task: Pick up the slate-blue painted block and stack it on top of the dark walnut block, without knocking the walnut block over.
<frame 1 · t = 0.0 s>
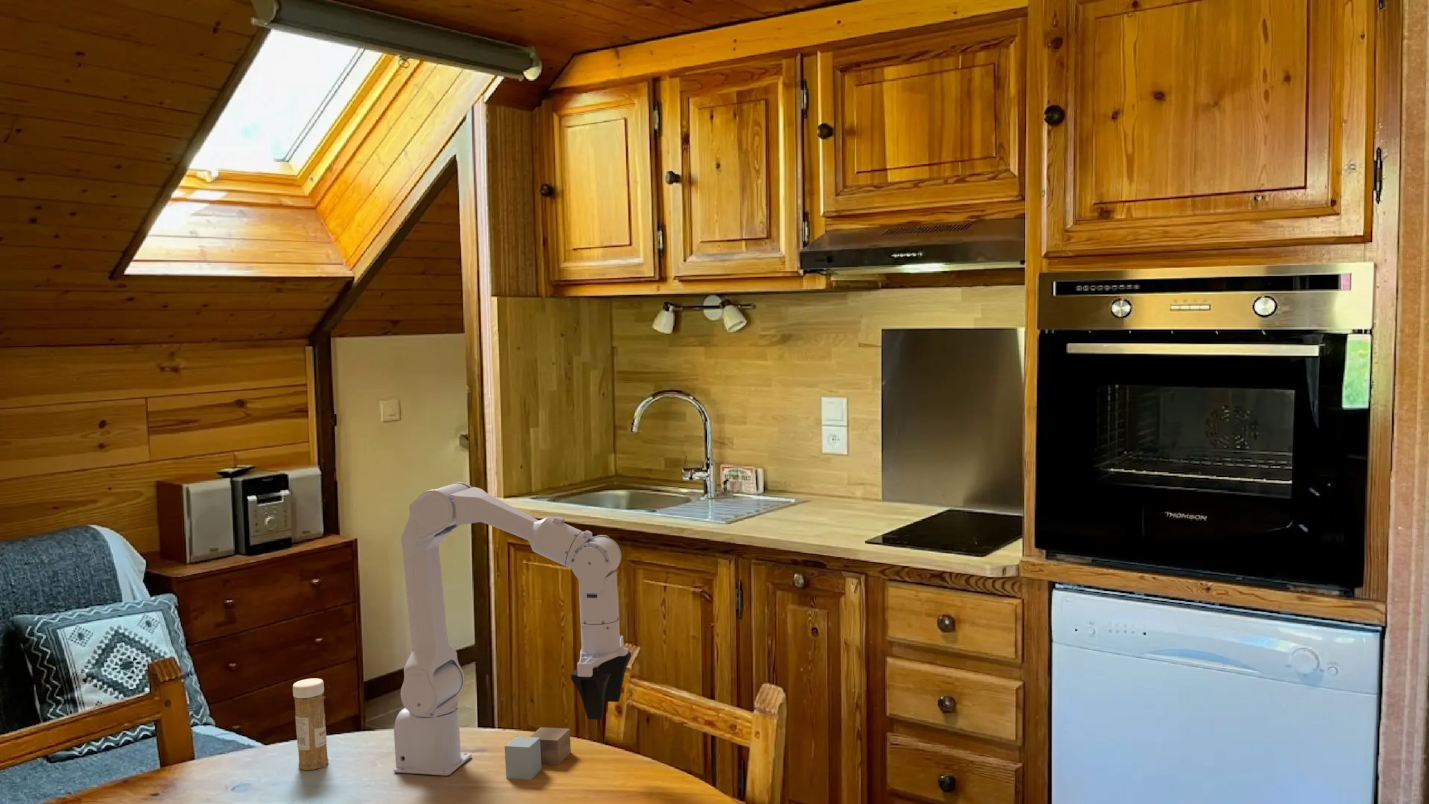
hand: (603, 709, 161), 10 cm above the table, tool pointing down, fingers open, 7 cm apart
walnut block: (550, 758, 170), on the table
sprinkles bottle: (313, 766, 171), on the table
slate block: (524, 774, 164), on the table
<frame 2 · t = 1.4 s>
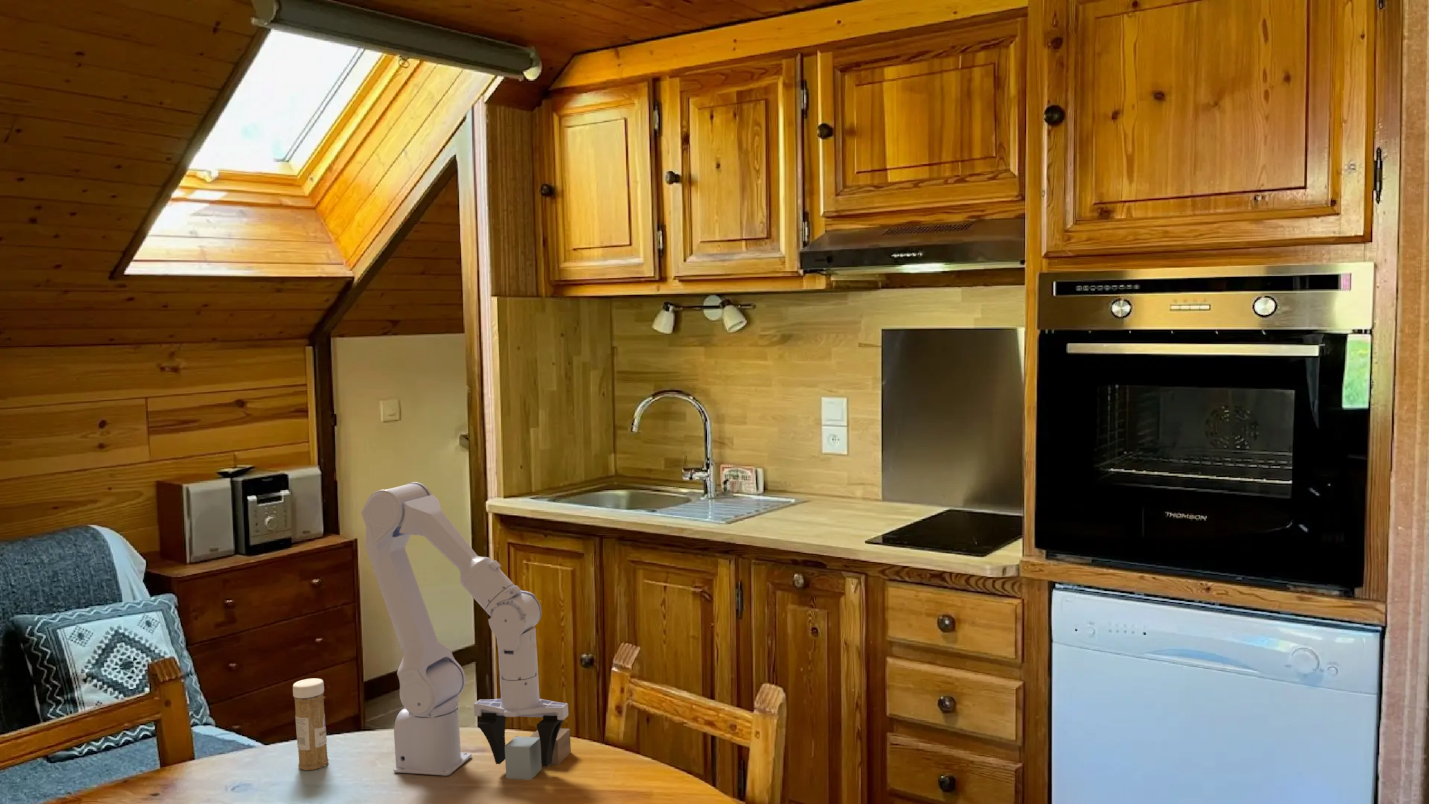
hand: (523, 763, 164), 2 cm above the table, tool pointing down, fingers open, 7 cm apart
nothing on the table moved.
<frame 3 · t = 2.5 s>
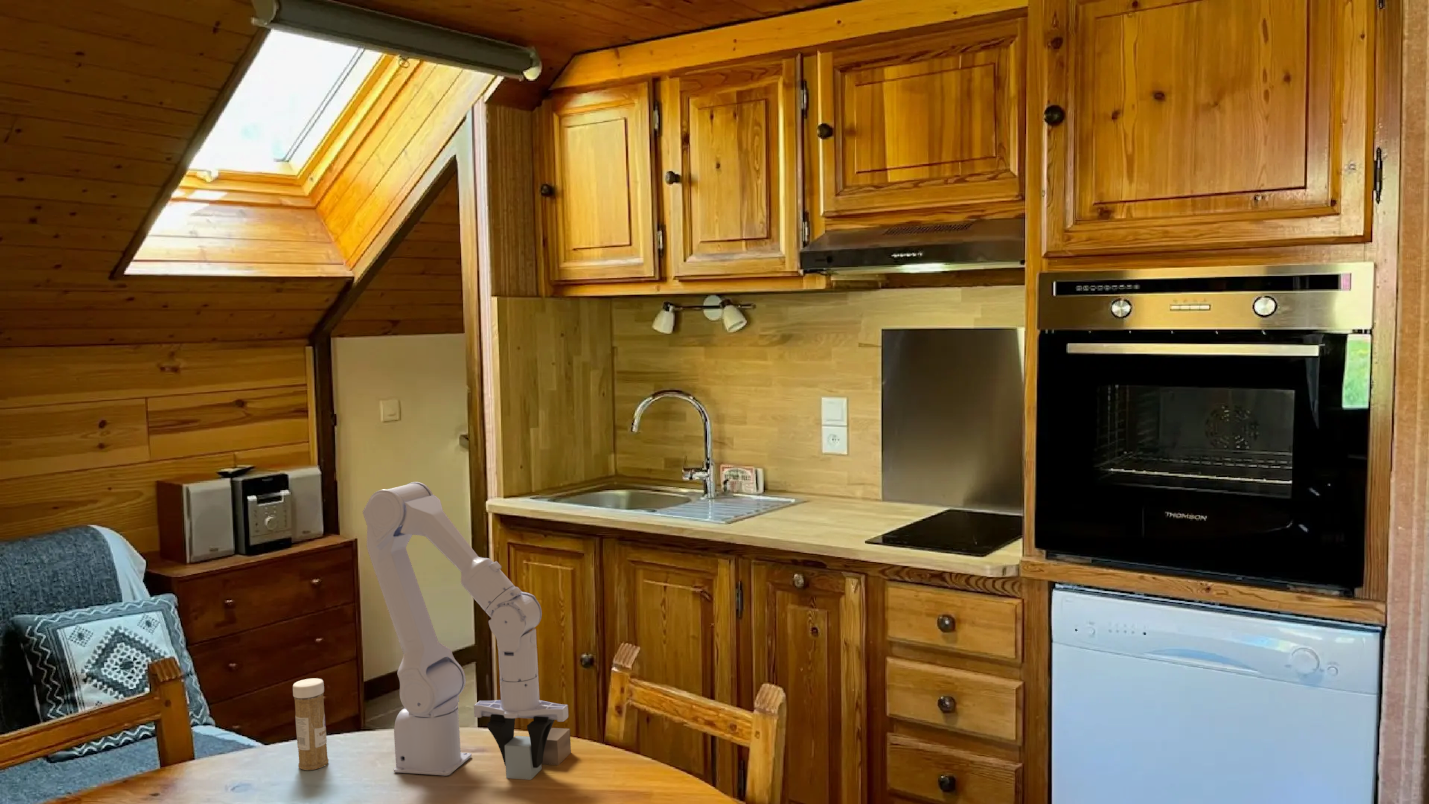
hand: (523, 764, 164), 1 cm above the table, tool pointing down, fingers closed on slate block, 4 cm apart
slate block: (524, 773, 164), on the table, touching gripper
everything else where it was.
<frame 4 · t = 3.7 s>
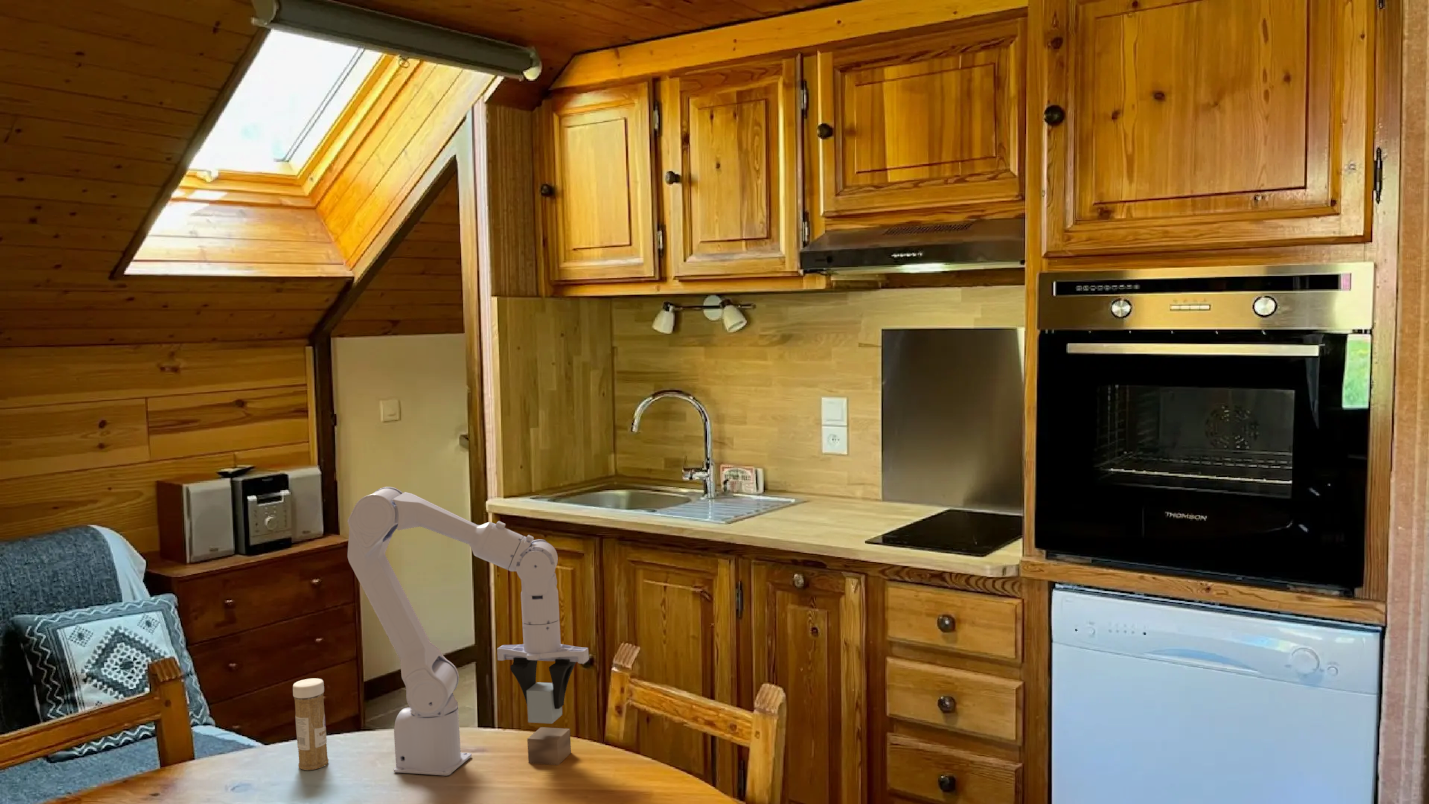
hand: (545, 706, 169), 8 cm above the table, tool pointing down, fingers closed on slate block, 4 cm apart
slate block: (545, 718, 169), point 7 cm above the table, touching gripper
everything else where it was.
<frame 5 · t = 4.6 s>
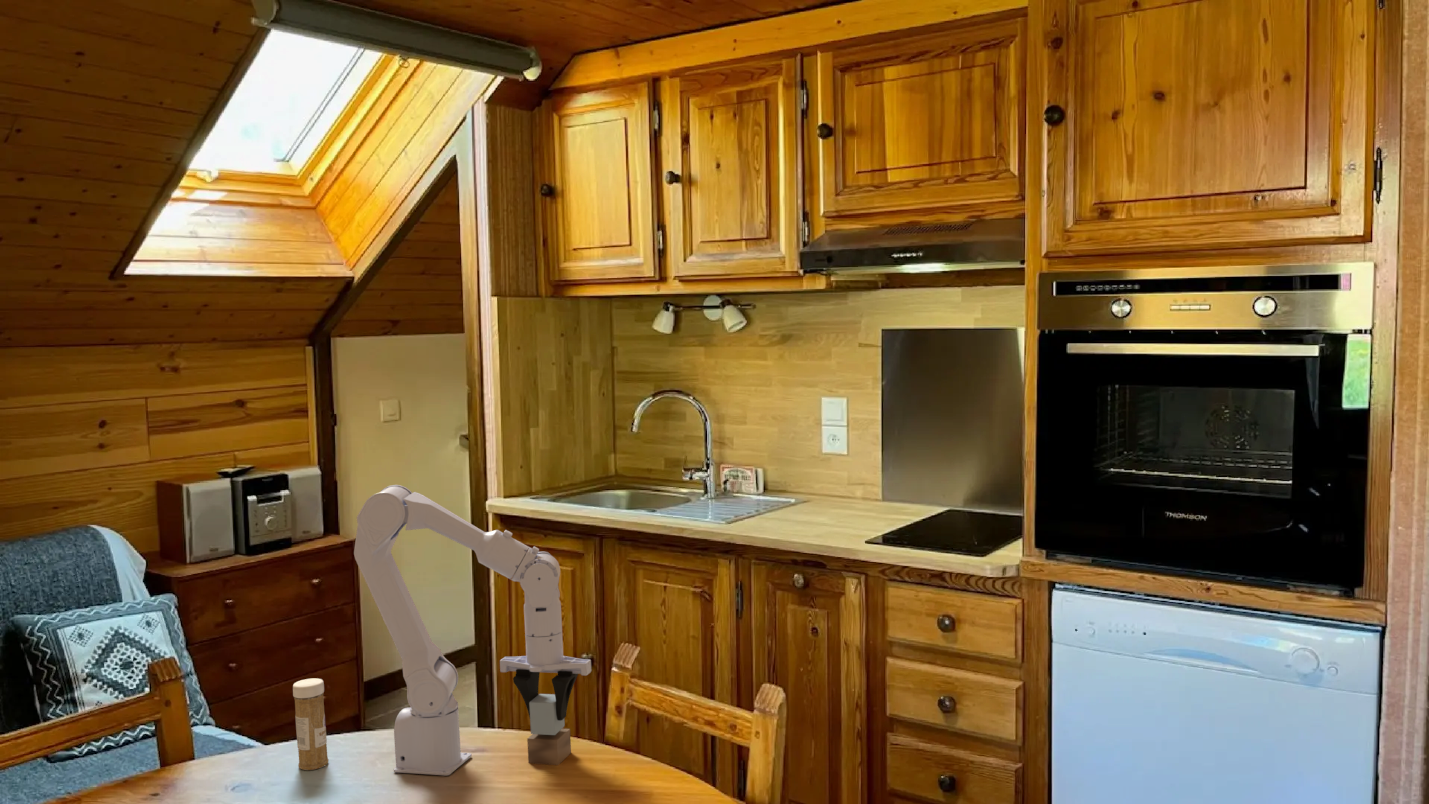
hand: (547, 717, 170), 6 cm above the table, tool pointing down, fingers closed on slate block, 4 cm apart
slate block: (548, 729, 170), point 5 cm above the table, touching gripper
everything else where it was.
when the fingers open (6 cm above the table, at t = 5.0 s): slate block stays where it is, resting on walnut block.
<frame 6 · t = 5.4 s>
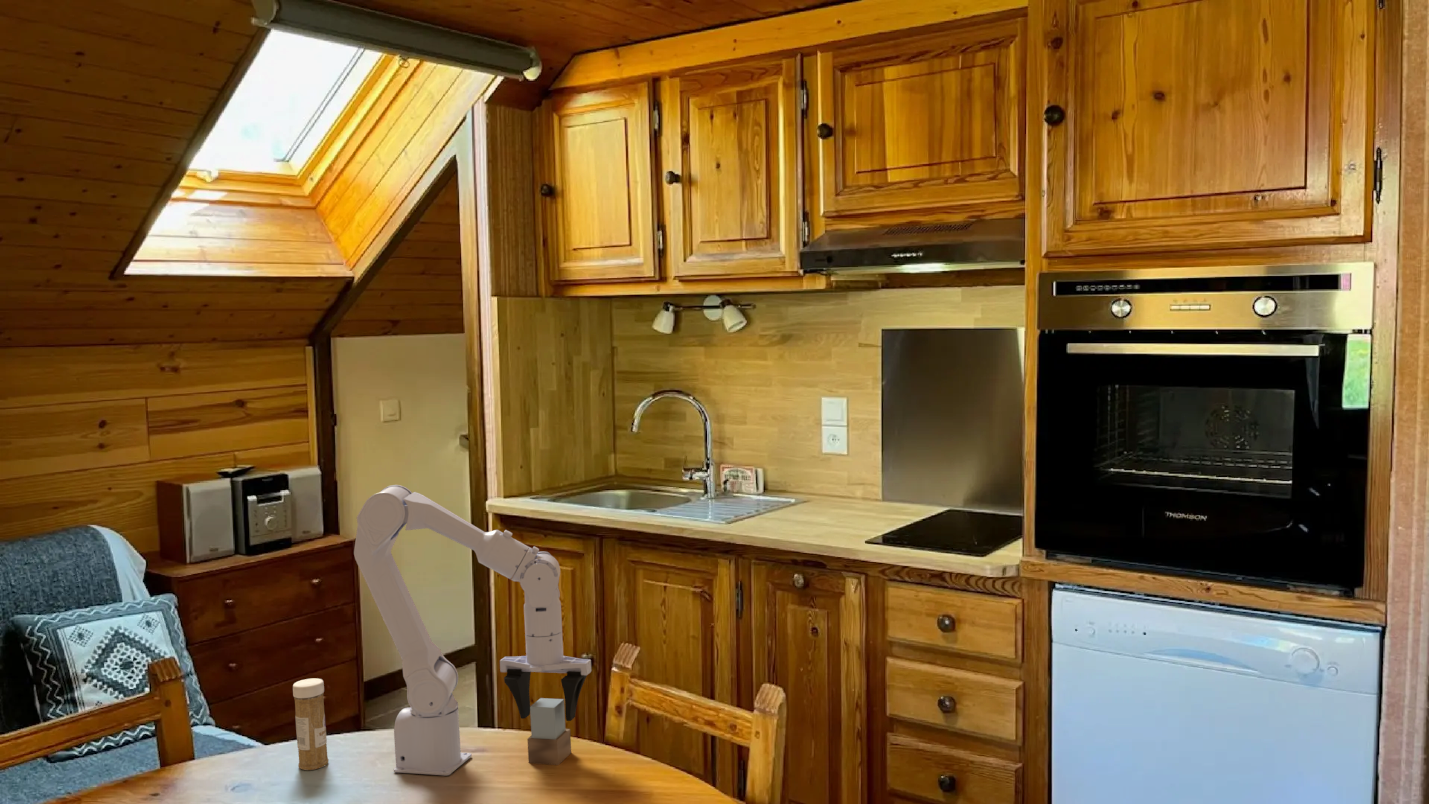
hand: (548, 717, 170), 6 cm above the table, tool pointing down, fingers open, 7 cm apart
walnut block: (550, 758, 170), on the table, touching slate block
slate block: (548, 734, 170), point 4 cm above the table, touching walnut block
everything else where it was.
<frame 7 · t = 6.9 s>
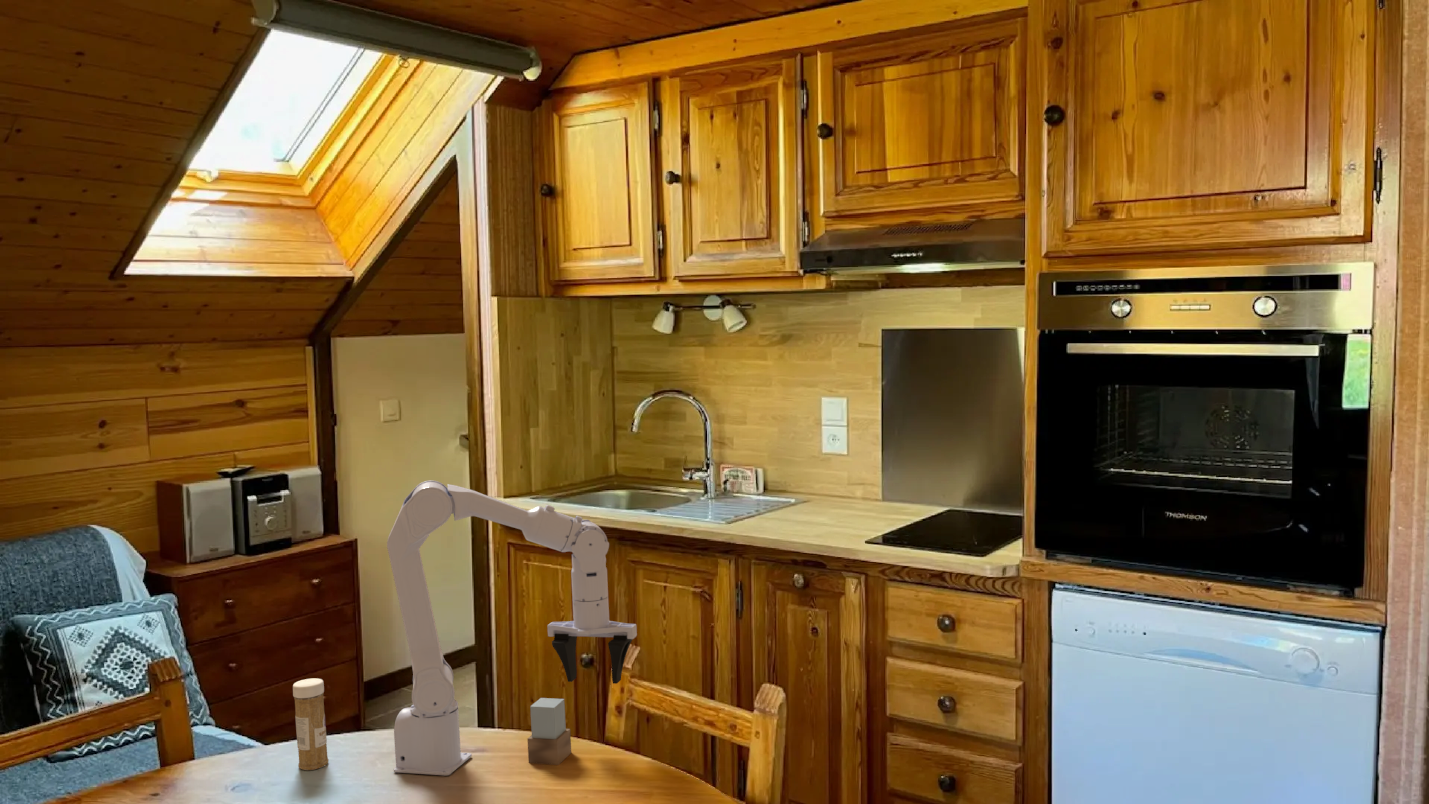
hand: (594, 680, 175), 10 cm above the table, tool pointing down, fingers open, 7 cm apart
nothing on the table moved.
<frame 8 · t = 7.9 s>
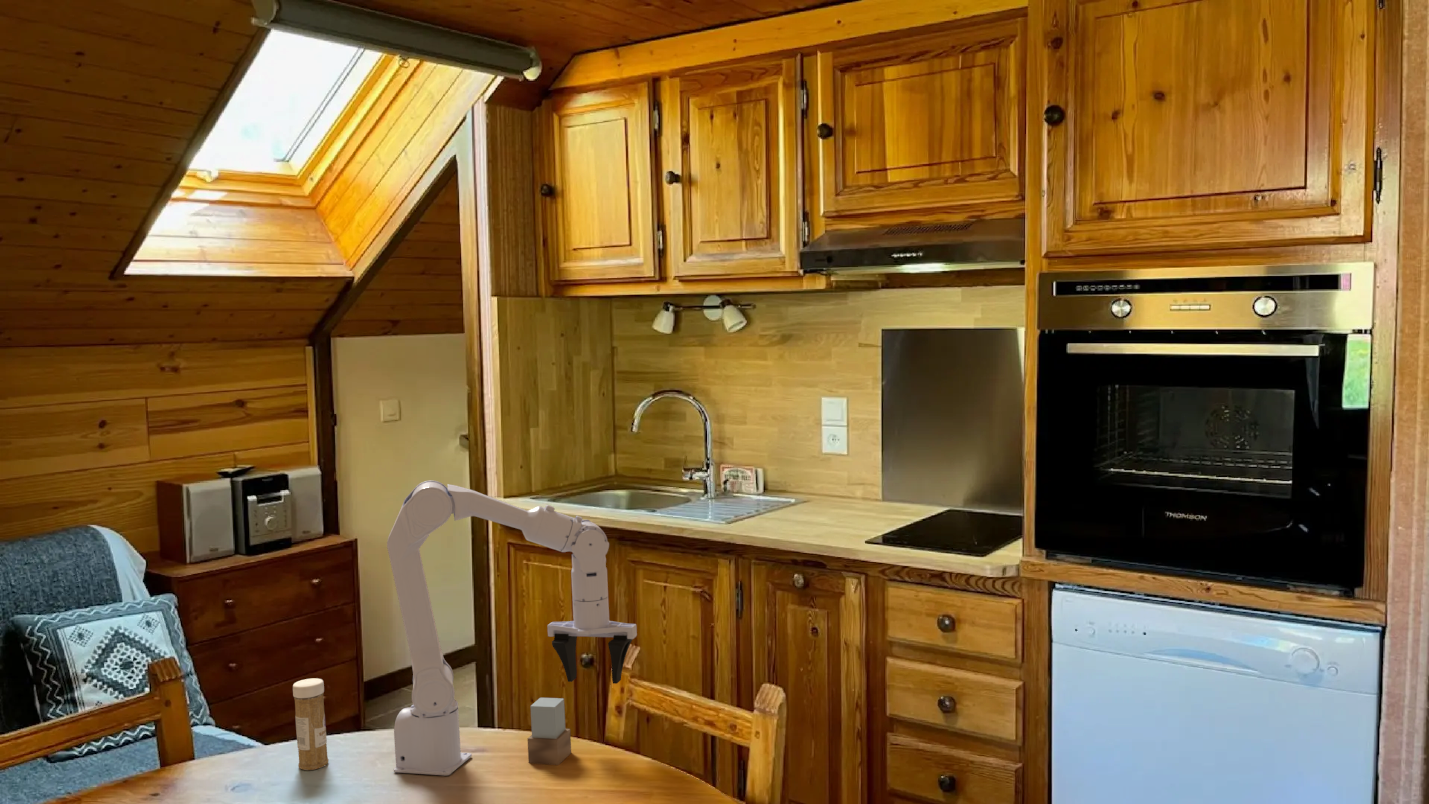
hand: (594, 680, 175), 10 cm above the table, tool pointing down, fingers open, 7 cm apart
nothing on the table moved.
at the end: slate block 0.0 cm off-centre on the walnut block, point 4.0 cm above the walnut block's base; slate block tilted 0°; walnut block tilted 0° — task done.
